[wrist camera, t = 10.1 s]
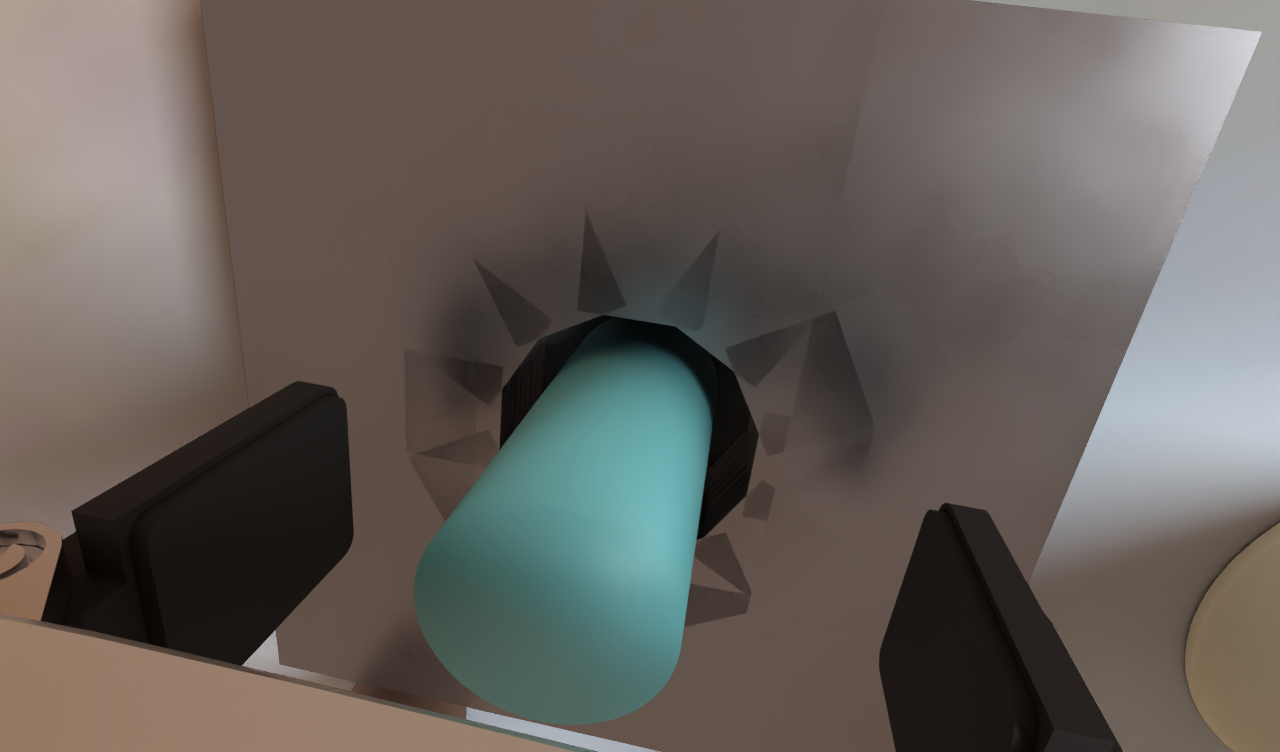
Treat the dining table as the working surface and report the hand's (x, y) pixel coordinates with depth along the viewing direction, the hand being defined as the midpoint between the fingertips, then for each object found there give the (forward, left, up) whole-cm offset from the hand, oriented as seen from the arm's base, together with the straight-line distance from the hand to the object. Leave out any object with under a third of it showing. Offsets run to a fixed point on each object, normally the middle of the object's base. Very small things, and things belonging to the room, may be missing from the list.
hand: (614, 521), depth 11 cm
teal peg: (0, 0, -6) cm, 6 cm away
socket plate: (0, 0, -6) cm, 6 cm away
